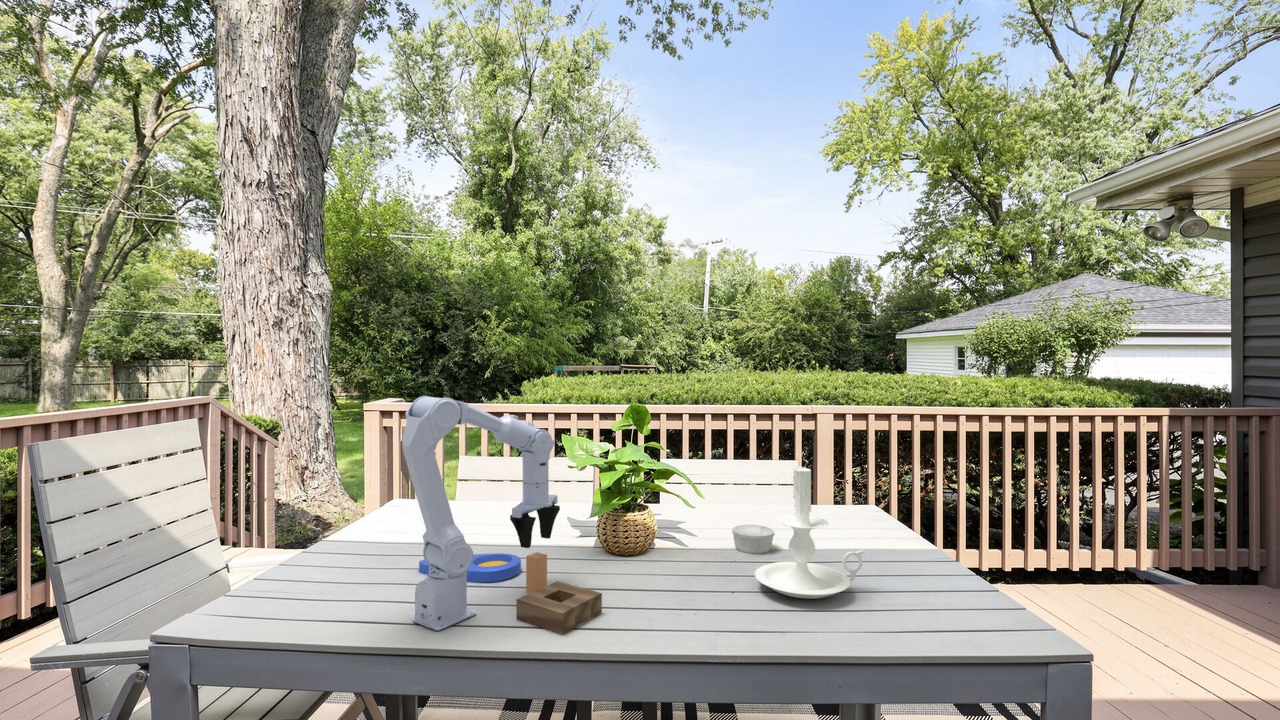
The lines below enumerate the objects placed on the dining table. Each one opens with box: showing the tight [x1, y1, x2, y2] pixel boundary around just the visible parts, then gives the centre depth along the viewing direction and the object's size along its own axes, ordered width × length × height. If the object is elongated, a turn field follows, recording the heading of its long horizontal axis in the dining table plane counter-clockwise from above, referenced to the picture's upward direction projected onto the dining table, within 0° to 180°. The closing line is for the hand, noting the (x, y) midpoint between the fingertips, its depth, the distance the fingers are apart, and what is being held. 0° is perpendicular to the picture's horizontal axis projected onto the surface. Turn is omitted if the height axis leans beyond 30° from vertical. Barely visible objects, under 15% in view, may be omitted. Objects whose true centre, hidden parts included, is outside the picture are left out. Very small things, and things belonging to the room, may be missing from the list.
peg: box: [525, 551, 548, 594], centre depth 135 cm, size 3×3×8 cm
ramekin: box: [731, 524, 775, 555], centre depth 167 cm, size 11×11×5 cm
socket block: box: [515, 580, 603, 635], centre depth 122 cm, size 12×12×4 cm
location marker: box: [418, 552, 522, 583], centre depth 148 cm, size 13×3×25 cm
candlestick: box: [754, 465, 865, 600], centre depth 136 cm, size 21×25×28 cm
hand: (535, 542), depth 137 cm, fingers open, 7 cm apart
